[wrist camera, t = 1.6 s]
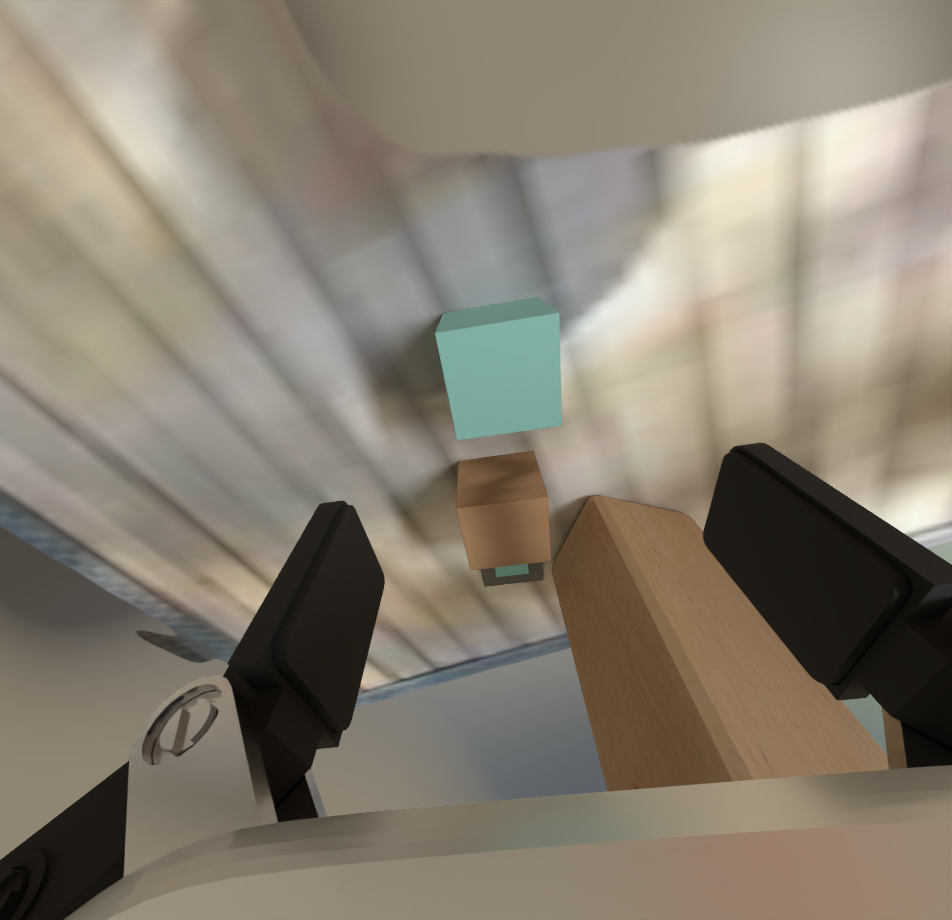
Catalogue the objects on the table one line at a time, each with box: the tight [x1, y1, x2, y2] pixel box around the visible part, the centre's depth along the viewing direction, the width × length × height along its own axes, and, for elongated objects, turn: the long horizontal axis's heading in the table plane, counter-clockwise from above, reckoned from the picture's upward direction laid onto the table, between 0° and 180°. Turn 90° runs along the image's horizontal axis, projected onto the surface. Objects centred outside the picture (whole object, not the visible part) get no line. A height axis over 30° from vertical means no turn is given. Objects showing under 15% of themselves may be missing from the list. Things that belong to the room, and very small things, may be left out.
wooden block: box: [552, 495, 889, 792], centre depth 24 cm, size 10×10×20 cm
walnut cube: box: [456, 451, 551, 570], centre depth 26 cm, size 6×6×6 cm
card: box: [481, 562, 543, 586], centre depth 33 cm, size 6×6×1 cm
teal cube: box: [435, 297, 562, 440], centre depth 21 cm, size 6×6×6 cm
